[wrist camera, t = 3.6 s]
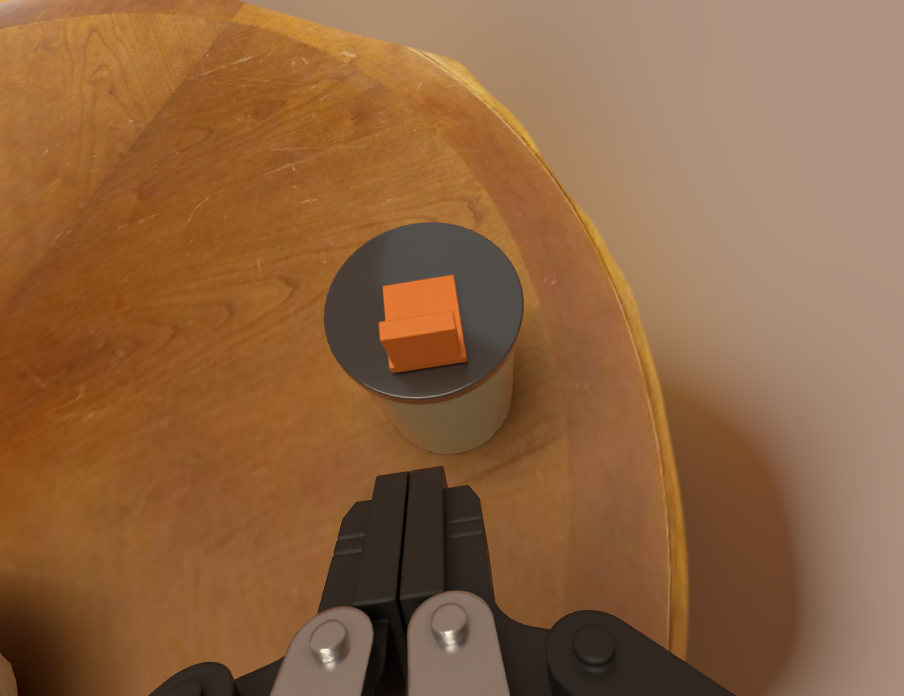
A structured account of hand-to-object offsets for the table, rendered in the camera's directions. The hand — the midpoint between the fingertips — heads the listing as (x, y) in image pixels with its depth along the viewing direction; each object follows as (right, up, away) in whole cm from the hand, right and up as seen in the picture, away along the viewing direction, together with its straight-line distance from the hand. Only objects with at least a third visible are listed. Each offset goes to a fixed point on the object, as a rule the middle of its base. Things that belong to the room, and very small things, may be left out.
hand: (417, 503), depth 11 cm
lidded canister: (+1, +1, +22) cm, 22 cm away
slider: (0, +4, +10) cm, 11 cm away
